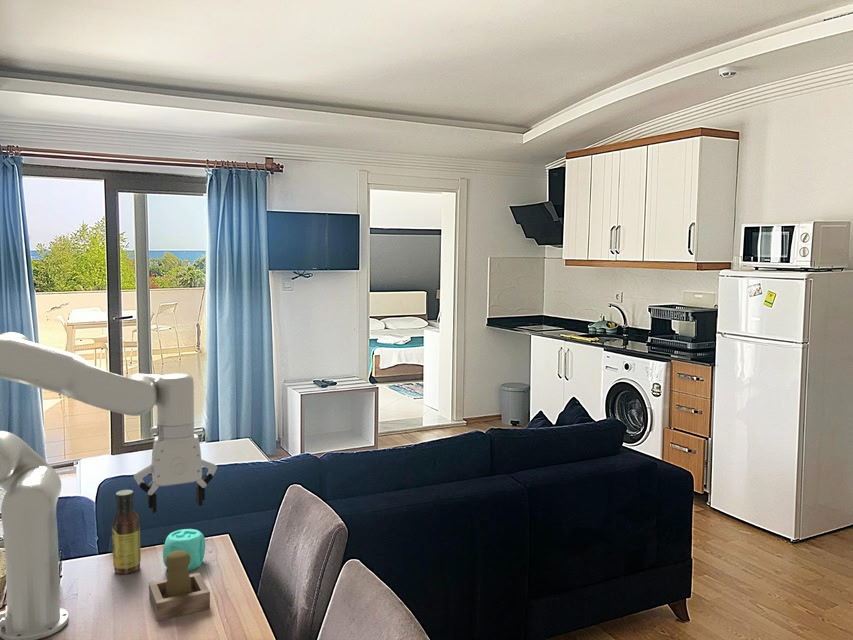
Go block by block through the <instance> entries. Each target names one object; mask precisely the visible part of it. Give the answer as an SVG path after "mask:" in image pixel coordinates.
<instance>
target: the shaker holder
mask: <svg viewBox="0 0 853 640" xmlns="http://www.w3.org/2000/svg"><path fill="white" fill-rule="evenodd" d="M189 576H190V582H191V589H192V593H188V594H183V595H179V596H174V597H170V598H165V593H166V584H167V578H166V579H161V580H160V579H159V580H156V581H151V582H148V598H149V602H150V606H151V608H152V610H153V613H154V617H155V620H156V622H157V621H162V620H163V621H164V620H166V619H170V618H171V619H172V618H175V617H179V616H184V615H187V614H194V613H197V612H201V611H206V610H210V609H211V591H210V590H209V588H208V586H207V583H205V580H204V579H203V577H202V575H201V573H200V572H195V573H191V574H190V573H189Z"/></svg>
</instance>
